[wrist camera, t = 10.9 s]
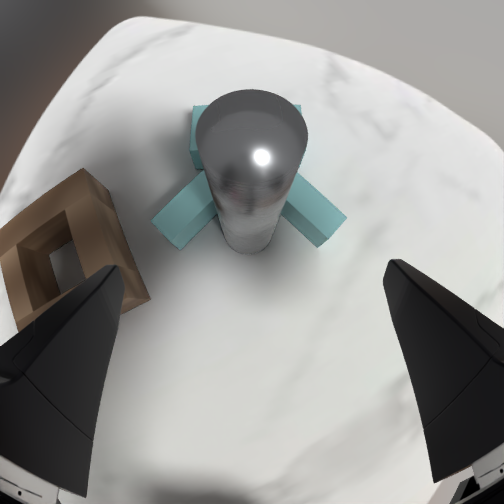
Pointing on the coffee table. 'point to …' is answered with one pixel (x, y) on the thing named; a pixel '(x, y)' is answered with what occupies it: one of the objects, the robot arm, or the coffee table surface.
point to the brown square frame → (57, 234)
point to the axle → (250, 162)
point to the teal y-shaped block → (203, 210)
